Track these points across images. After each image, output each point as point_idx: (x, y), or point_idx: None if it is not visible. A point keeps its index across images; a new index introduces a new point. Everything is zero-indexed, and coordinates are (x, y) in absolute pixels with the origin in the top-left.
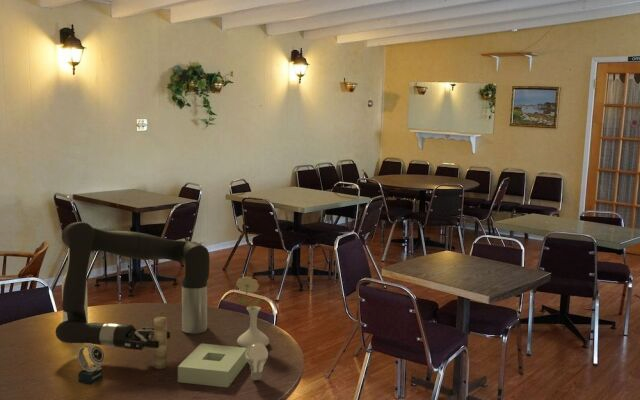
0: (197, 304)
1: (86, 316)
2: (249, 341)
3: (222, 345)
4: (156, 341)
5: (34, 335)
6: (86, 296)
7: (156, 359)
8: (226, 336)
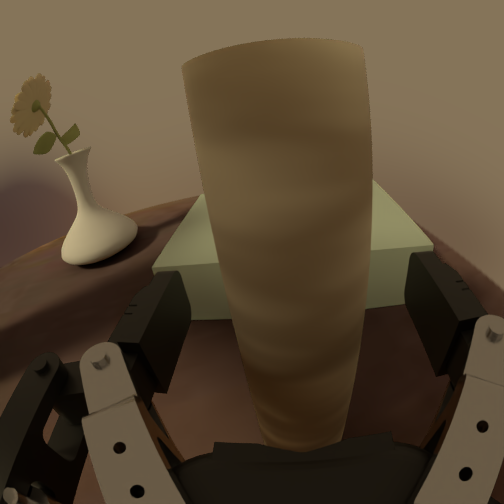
0: None
1: None
2: (123, 224)
3: (180, 224)
4: (433, 254)
5: None
6: None
7: (346, 417)
8: (21, 305)
